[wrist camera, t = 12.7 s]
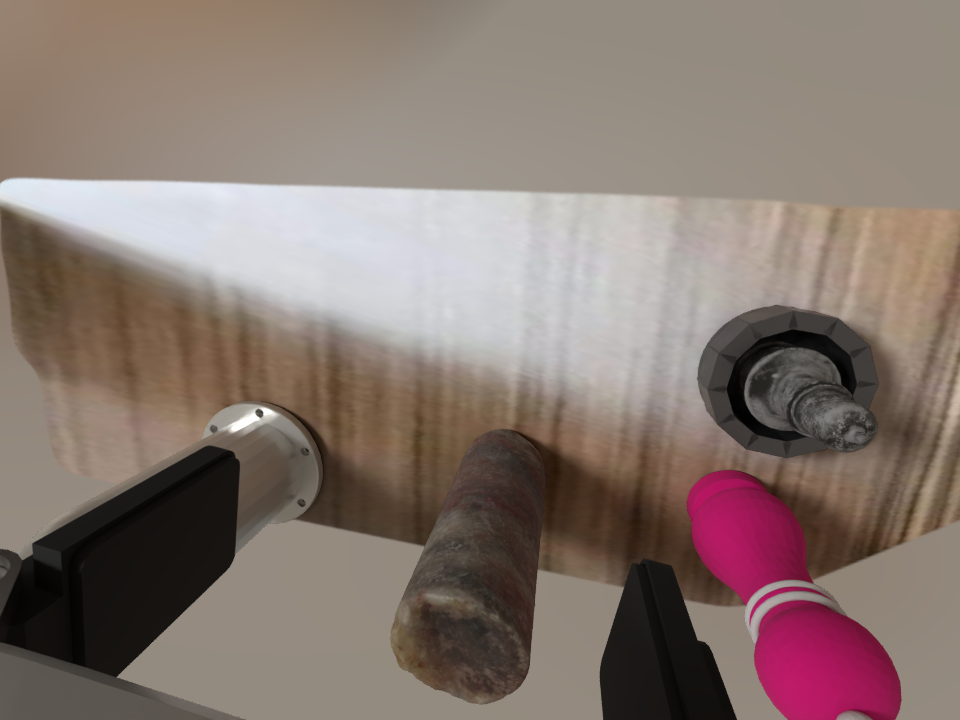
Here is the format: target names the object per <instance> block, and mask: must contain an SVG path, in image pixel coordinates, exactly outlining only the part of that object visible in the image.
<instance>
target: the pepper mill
mask: <svg viewBox="0 0 960 720" xmlns="http://www.w3.org/2000/svg"><path fill="white" fill-rule="evenodd" d="M687 511H688V514H689V517H690V519H691V522H692V540H693V544H694V547H695V549H696V551H697V552H698V554H699V556H700V558H701V560H702V562H703V563H704V564H705V565H706V567H707V568H708V569H709V570H710V571H711V572H712V573H713V575H714V576H715V577H716V578H718V579H719V580H720V581H722V582H723V583H724V584H726V585H727V586H729V587H730V588H731V589H733V590H734V591H735V592H736V593H737V594H738V595H739V596H740V597H741V599H742V600H743V602H744V604H745V605H746V609H745V622H746V626H747V629H748V631H749V633H750V634H751V637H752V640H753V642H754V644H755V653H754V662H755V667H756V671H757V674H758V678H759V680H760V682H761V684H762V686H763V688H764V690H765V692H766V694H767V695H768V697H769V698H770V700H771V701H772V703H773V704H774V705H775V707H776V708H777V709H778V710H779V711H780V712H781V713H782V714H783V715H784V716H785V717H786V718H787V719H788V720H895V719H896V717H897V715H898V713H899V710H900V705H901V687H900V680H899V677H898V674H897V672H896V669H895V667H894V665H893V662H892V660H891V659H890V657H889V655H888V654H887V652H886V651H885V649H884V648H883V646H882V645H881V644H880V643H879V642H878V640H877V639H876V638H875V637H874V636H873V635H872V634H871V633H870V632H869V631H868V630H867V629H866V628H864V627H863V626H861V625H860V624H859V623H858V622H856V621H854V620H852V619H850V618H849V617H847V615H846V613H845V612H844V611H843V610H842V608H841V607H840V606H839V604H838V602H837V601H836V600H835V598H834V597H833V596H832V595H831V594H830V593H828V591H826V590H825V589H823V588H821V587H819V586H817V585H815V584H814V583H813V581H812V579H811V577H810V576H809V574H808V571H807V568H806V542H805V538H804V534H803V530H802V528H801V526H800V524H799V522H798V520H797V519H796V517H795V516H794V514H793V513H792V511H791V510H790V508H789V507H788V506H787V505H786V504H785V503H783V502H782V501H781V500H780V499H778V498H777V497H775V496H774V495H772V494H770V493H768V492H767V490H766V489H765V488H764V486H763V485H762V484H761V483H760V482H759V481H758V480H757V479H755V478H754V477H752V476H750V475H748V474H746V473H743V472H740V471H733V470H723V471H717V472H714V473H711V474H708V475H706V476H705V477H703V478H701V479H700V480H699V481H698V482H697V483H696V484H695V485H694V486H693V487H692V489H691V491H690V493H689V495H688V499H687Z"/></svg>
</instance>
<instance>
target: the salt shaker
mask: <svg viewBox="0 0 960 720" xmlns="http://www.w3.org/2000/svg"><path fill="white" fill-rule="evenodd" d="M733 383H734V387H735V390H736V391H737V393H738V395H739V396H740V397H741V398H742V399H743V400H744V401H745V402H746V405H747V407H748V409H749V411H750V412H751V414H752V415H753V416H754V417H755V418H756V419H757V420H758V421H759V422H761V423H763V424H764V425H766V426H768V427H770V428H774V429H777V430H781V431H797V432H799V433H801V434H802V435H805V436H808V437H814V438H816V439H817V440H818V441H819V442H820V443H822V444H823V445H824V446H826V447H828V448H829V449H832V450H835V451H838V452H853V451H857V450H859V449H862V448H864V447H865V446H867V445H868V444H869V443H870V442H871V441H872V440H873V439H874V437H875V435H876V434H877V429H878V424H877V420H876V418H875V416H874V415H873V413H872V412H871V411H870V410H869V409H868V408H866V407H864V406H863V405H861V404H859V403H857V402H856V401H854V398H853V396H852V394H851V393H850V392H849V391H848V390H847V389H846V388H845V387H843V386H842V383H841V376H840V374H839V372H838V370H837V368H836V366H835V364H834V363H833V362H832V361H831V360H830V359H829V358H828V357H826V356H824V355H823V354H821V353H819V352H817V351H815V350H811V349H807V348H797V347H796V346H794V345H792V344H790V343H786V342H782V341H769V342H765V343H760V344H758V345H756V346H754V347H752V348H750V349H749V350H748V351H747V352H745V353H744V354H743V355H742V356H741V358H740V359H739V360H738V362H737V364H736V366H735V369H734V373H733Z"/></svg>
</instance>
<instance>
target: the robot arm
mask: <svg viewBox="0 0 960 720" xmlns="http://www.w3.org/2000/svg"><path fill="white" fill-rule="evenodd" d="M322 479H323V465H322V460H321V456H320V452H319V450H318V448H317V445H316V443H315V441H314V439H313V438H312V436H311V434H310V433H309V431H308V430H307V429H306V428H305V427H304V426H303V424H302V423H301V422H300V421H299V420H297V419H296V418H295V417H294V416H293V415H292V414H290V413H289V412H287V411H285V410H283V409H282V408H280V407H278V406H275V405H272V404H270V403H266V402H260V401H244V402H240V403H235V404H233V405H231V406H229V407H227V408H225V409H223V410H222V411H220V412H218V413H217V414H216V415H215V416H214V417H213V418H212V419H211V420H210V421H209V423H208V425H207V426H206V428H205V430H204V433H203V436H202V440H200V441H198V442H197V443H195V444H193V445H191V446H189V447H187V448H185V449H183V450H182V451H180V452H178V453H176V454H174V455H172V456H170V457H169V458H167V459H165V460H163V461H161V462H159V463H157V464H156V465H154V466H152V467H150V468H148V469H146V470H144V471H142V472H141V473H139V474H137V475H135V476H133V477H131V478H129V479H128V480H126V481H124V482H122V483H120V484H118V485H116V486H115V487H113V488H111V489H109V490H107V491H105V492H103V493H101V494H100V495H98V496H96V497H94V498H92V499H90V500H88V501H87V502H85V503H83V504H81V505H78V506H77V507H75V508H73V509H71V510H69V511H68V512H66V513H64V514H62V515H61V516H59V517H57V518H56V519H54V520H53V521H51V522H50V523H48V524H47V525H46V526H45V527H43V528H42V529H41V530H40V531H38V532H37V534H35V536H33V537H32V539H31V540H30V541H29V542H28V543H27V544H26V545H25V546H24V547H23V549H22V550H21V551H20V553H19V554H17V553H15V552H12V551H10V550H6V549H0V720H245V719H242V718H239V717H236V716H233V715H230V714H227V713H224V712H221V711H218V710H214V709H212V708H209V707H206V706H202V705H200V704H196V703H193V702H190V701H187V700H184V699H181V698H178V697H175V696H172V695H168V694H166V693H163V692H159V691H156V690H153V689H150V688H147V687H144V686H141V685H138V684H135V683H132V682H129V681H126V680H123V679H120V678H116V677H117V676H118V675H119V674H120V673H121V672H122V671H123V670H124V669H125V668H126V667H127V666H128V665H129V664H130V663H131V662H132V661H133V660H134V659H136V657H138V656H139V655H140V654H141V653H142V652H143V651H144V650H145V649H146V648H147V647H148V646H149V645H150V644H151V643H152V642H153V641H154V640H155V639H156V638H157V637H158V636H159V635H160V634H161V633H162V632H164V630H166V629H167V628H168V626H170V625H171V624H172V623H173V622H174V621H175V620H176V619H177V618H178V617H179V616H180V615H181V614H182V613H183V612H184V611H185V610H186V609H187V608H188V607H189V606H190V605H191V604H192V603H194V602H195V601H196V600H197V599H198V598H199V597H200V596H201V595H202V594H203V593H204V592H205V591H206V590H207V589H208V588H209V587H210V586H211V585H212V584H213V583H214V582H215V581H216V580H217V579H218V578H219V577H220V576H221V575H223V573H225V572H226V571H227V569H228V568H229V567H230V565H231V564H232V562H233V559H234V557H235V554H236V553H237V552H238V551H239V550H240V549H241V548H242V547H244V546H245V545H246V544H247V543H248V542H249V541H250V540H251V539H252V538H253V537H254V536H255V535H256V534H258V533H259V532H260V531H261V530H262V529H263V528H264V527H265V526H266V525H267V524H268V523H270V524H277V523H284V522H288V521H290V520H293V519H295V518H297V517H298V516H300V515H301V514H303V513H304V512H305V511H306V510H307V509H308V508H309V507H310V506H311V505H312V503H313V502H314V501H315V499H316V498H317V496H318V494H319V491H320V489H321V485H322ZM600 686H601V699H602V710H603V720H737V718H736V716H735V713H734V710H733V707H732V705H731V702H730V699H729V697H728V694H727V691H726V688H725V686H724V683H723V680H722V678H721V675H720V672H719V670H718V667H717V664H716V662H715V659H714V656H713V653H712V651H711V649H710V647H709V646H708V645H707V644H706V643H705V642H702V641H698V640H697V637H696V634H695V632H694V629H693V626H692V623H691V620H690V617H689V614H688V612H687V608H686V606H685V603H684V600H683V597H682V594H681V591H680V588H679V585H678V582H677V579H676V576H675V573H674V571H673V568H672V566H670V565H667V564H663V563H660V562H656V561H652V560H648V559H643V560H642V561H641V563H640V564H636V563H633V564H632V565H631V568H630V571H629V574H628V577H627V580H626V584H625V587H624V590H623V593H622V597H621V600H620V603H619V606H618V609H617V612H616V616H615V619H614V622H613V625H612V628H611V632H610V635H609V638H608V641H607V644H606V648H605V651H604V654H603V657H602V661H601V667H600Z"/></svg>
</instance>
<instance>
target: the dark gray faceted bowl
mask: <svg viewBox="0 0 960 720" xmlns="http://www.w3.org/2000/svg"><path fill="white" fill-rule="evenodd" d="M769 341H782V342H786V343H790V344H792V345H794V346H796V347H797V348H807V349H811V350H815V351H817V352H819V353H821V354H823V355H824V356H826V357H828V358H829V359H830V360H831V361H832V362H833V363H834V364H835V366H836V368H837V370H838V372H839V374H840V376H841V383H842V386H843V387H845V388H846V389H847V390H848V391H849V392H850V393H851V394H852V396H853V398H854V401H856V402H857V403H859V404H861V405H863V406H864V407H866V408H868V409H869V406H870V404H871V402H872V399H873V397H874V394H875V392H876V389H877V387H878V385H879V383H878V378H877V374H876V370H875V365H874V361H873V357H872V352H871V348H870V345H869V344H868V343H866V342H865V341H864V340H863V339H862V338H861V337H859V336H858V335H857V334H856V333H855V332H854V331H853V330H851V329H850V328H849V327H848V326H847V325H846V324H844V323H843V322H842V321H841V320H840V319H839V318H836V317H832V316H829V315H826V314H822V313H819V312H815V311H809V310H803V309H798V308H794V307H787V306H780V305H774V306H770V307H763V308H759V309H754V310H751V311H749V312H746V313H743V314H741V315H739V316H737V317H735V318H734V319H732V320H731V321H729V322H728V323H726V324H725V325H724V326H723V327H722V328H720V329H719V330H718V331H717V332H716V333H715V335H714V336H713V337H712V338H711V340H710V341H709V342H708V344H707V346H706V348H705V349H704V351H703V354H702V356H701V359H700V363H699V368H698V377H697V380H698V385H699V390H700V394H701V396H702V399H703V401H704V403H705V406H706V410H707V412H708V413H709V414H710V416H711V417H712V418H713V419H714V421H715V422H716V423H717V425H718V426H720V427H721V428H722V429H723V430H724V431H725V432H727V433H728V434H729V435H730V436H731V437H732V438H734V439H735V440H736V441H737V442H738V443H739V444H741V445H742V446H743V447H744V448H745V449H747V450H752V451H756V452H761V453H766V454H770V455H775V456H779V457H784V458H789V457H793V456H798V455H802V454H806V453H811V452H815V451H820V450H824V449H828V447H826V446H824V445H823V444H822V443H820V442H819V441H818V440H817V439H816V438H814V437H808V436H805V435H802V434H801V433H799V432H797V431H781V430H777V429H774V428H770V427H768V426H766V425H764V424H763V423H761V422H759V421H758V420H757V419H756V418H755V417H754V416H753V415H752V414H751V412H750V411H749V409H748V407H747V405H746V402H745V401H744V400H743V399H742V398H741V397H740V396H739V395H738V393H737V391H736V390H735V387H734V383H733V373H734V369H735V366H736V364H737V362H738V360H739V359H740V358H741V356H742V355H743V354H744V353H745V352H747V351H748V350H749V349H750V348H752V347H754V346H756V345H758V344H760V343H765V342H769Z"/></svg>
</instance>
